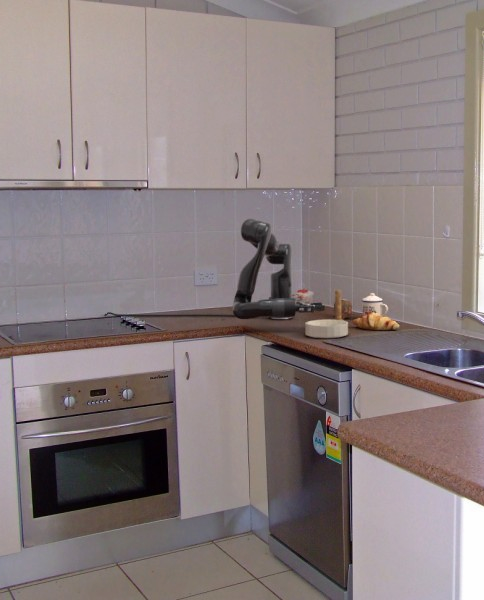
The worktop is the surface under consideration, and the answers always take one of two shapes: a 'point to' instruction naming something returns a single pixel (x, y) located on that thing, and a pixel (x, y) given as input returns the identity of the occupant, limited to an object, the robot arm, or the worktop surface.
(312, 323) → the bowl
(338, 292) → the wooden pestle
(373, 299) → the teacup with lid
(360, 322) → the croissant
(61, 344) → the worktop surface
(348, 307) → the tin
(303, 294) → the food item
